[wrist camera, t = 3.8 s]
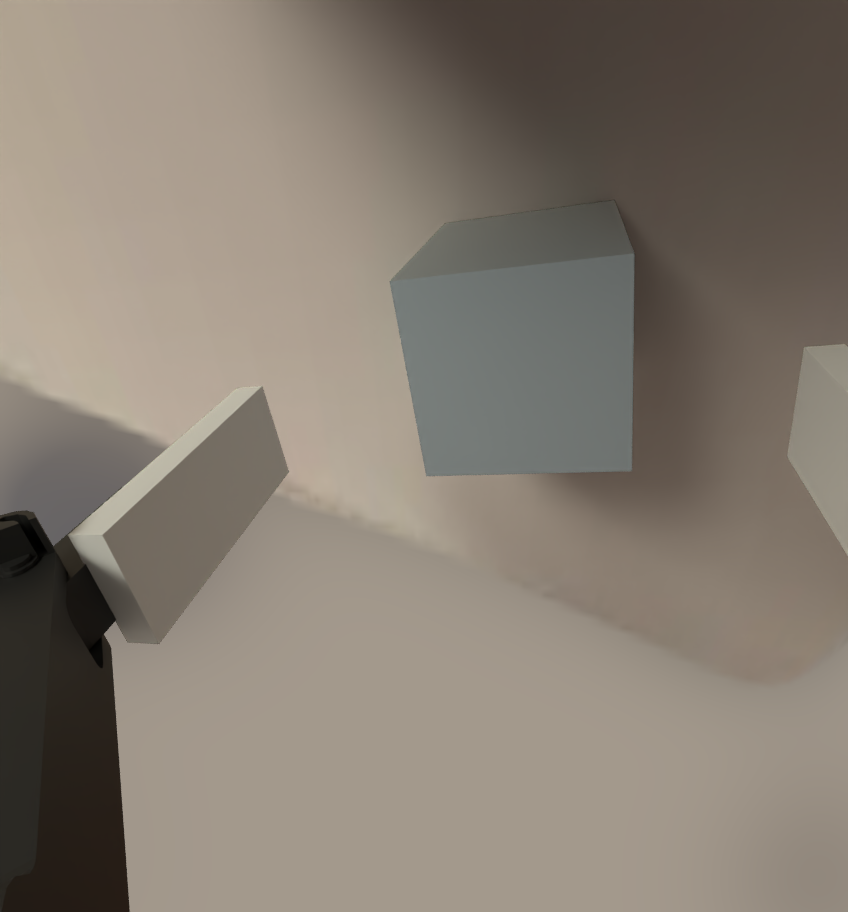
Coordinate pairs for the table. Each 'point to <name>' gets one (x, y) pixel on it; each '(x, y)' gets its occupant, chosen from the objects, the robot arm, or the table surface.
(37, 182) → the table surface
